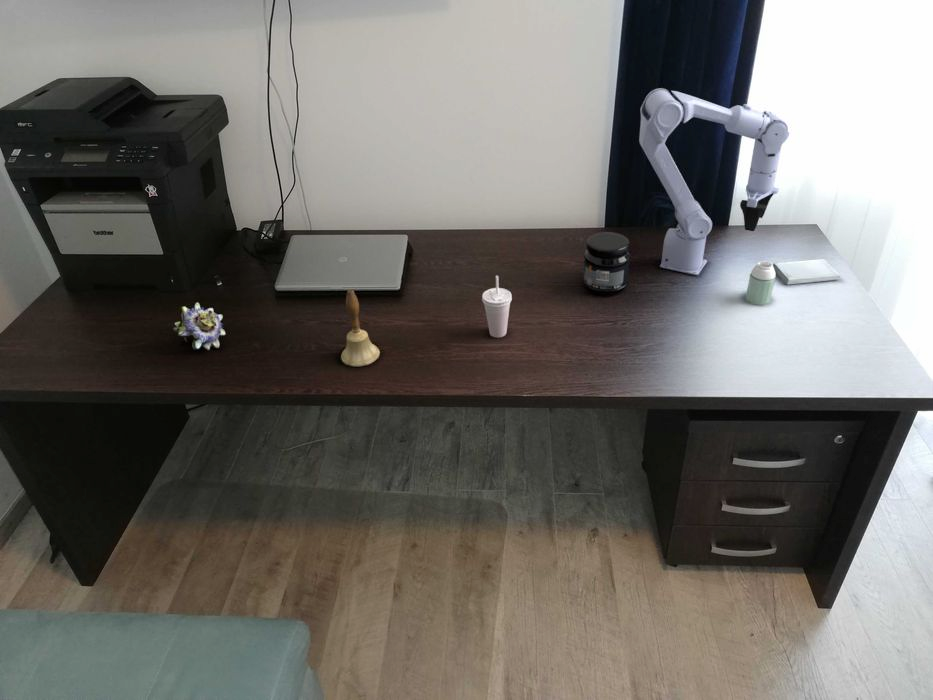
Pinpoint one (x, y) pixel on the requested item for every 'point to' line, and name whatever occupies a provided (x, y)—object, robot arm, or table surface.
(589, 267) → the supplement container
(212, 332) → the passion flower
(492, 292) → the smoothie
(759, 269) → the white jar
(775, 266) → the hard drive
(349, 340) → the hand bell
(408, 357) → the table surface
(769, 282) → the cup
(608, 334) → the table surface
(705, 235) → the robot arm
